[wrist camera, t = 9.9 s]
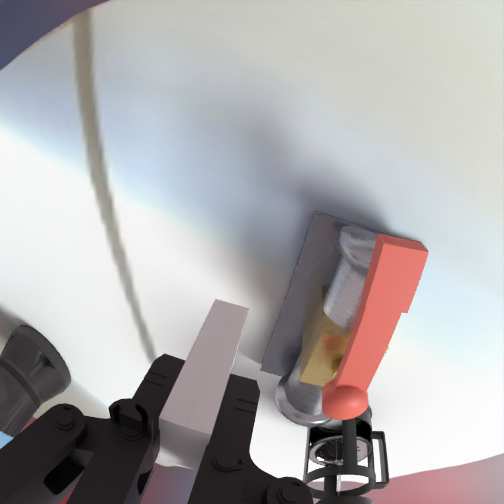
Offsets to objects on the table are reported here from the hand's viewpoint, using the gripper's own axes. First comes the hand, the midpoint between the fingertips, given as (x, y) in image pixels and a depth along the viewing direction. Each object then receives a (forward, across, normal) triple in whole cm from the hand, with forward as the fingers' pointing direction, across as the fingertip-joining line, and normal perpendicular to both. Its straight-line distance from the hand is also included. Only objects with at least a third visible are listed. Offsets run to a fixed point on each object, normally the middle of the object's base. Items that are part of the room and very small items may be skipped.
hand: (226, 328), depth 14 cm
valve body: (+17, +10, -8) cm, 21 cm away
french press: (+17, +18, -25) cm, 35 cm away
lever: (+6, +9, -3) cm, 11 cm away
